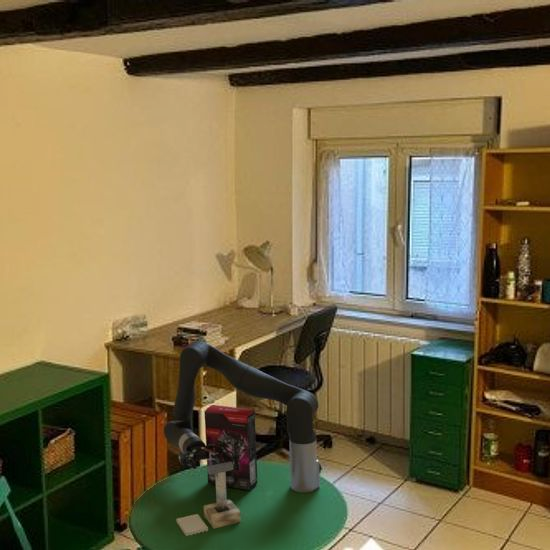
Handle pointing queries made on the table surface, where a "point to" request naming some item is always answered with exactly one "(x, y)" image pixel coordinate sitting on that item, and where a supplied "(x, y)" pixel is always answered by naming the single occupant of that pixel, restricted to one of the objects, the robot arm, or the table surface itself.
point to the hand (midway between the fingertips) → (207, 464)
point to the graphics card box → (233, 443)
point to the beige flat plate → (192, 524)
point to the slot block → (222, 515)
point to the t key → (220, 483)
